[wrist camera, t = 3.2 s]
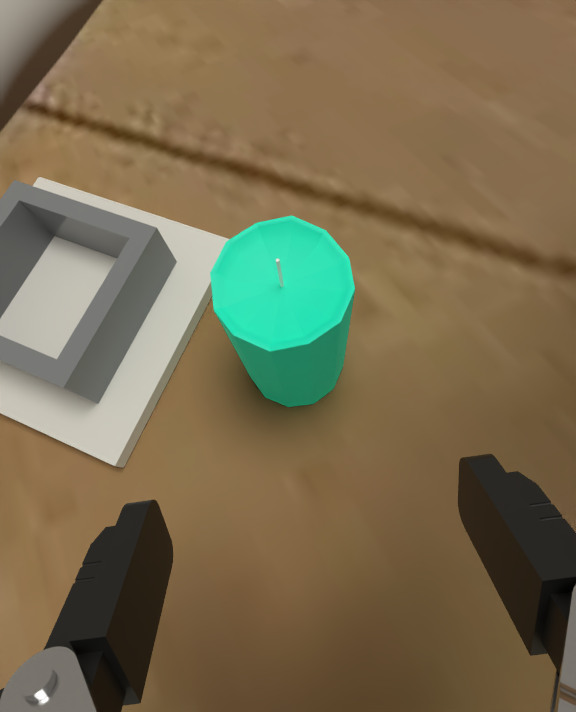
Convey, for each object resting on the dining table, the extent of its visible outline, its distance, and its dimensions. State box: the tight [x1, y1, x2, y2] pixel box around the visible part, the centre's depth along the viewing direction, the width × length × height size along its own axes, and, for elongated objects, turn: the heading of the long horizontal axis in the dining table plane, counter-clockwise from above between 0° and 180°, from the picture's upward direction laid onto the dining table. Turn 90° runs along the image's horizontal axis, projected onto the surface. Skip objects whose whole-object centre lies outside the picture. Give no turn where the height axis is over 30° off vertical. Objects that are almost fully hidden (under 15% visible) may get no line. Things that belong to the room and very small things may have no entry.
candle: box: [210, 216, 355, 407], centre depth 22 cm, size 6×6×12 cm
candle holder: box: [0, 177, 230, 468], centre depth 28 cm, size 16×16×5 cm
